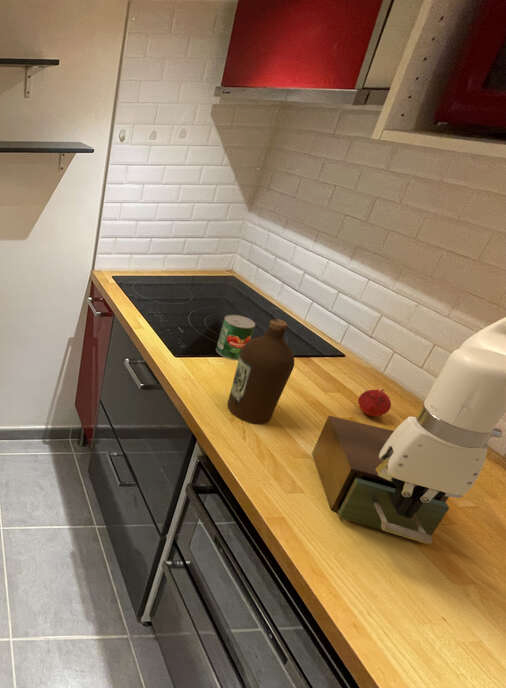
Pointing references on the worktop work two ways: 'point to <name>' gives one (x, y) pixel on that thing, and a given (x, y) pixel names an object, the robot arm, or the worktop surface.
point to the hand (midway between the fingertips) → (400, 510)
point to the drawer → (388, 510)
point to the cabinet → (348, 455)
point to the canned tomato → (234, 336)
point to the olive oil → (261, 375)
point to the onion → (374, 402)
